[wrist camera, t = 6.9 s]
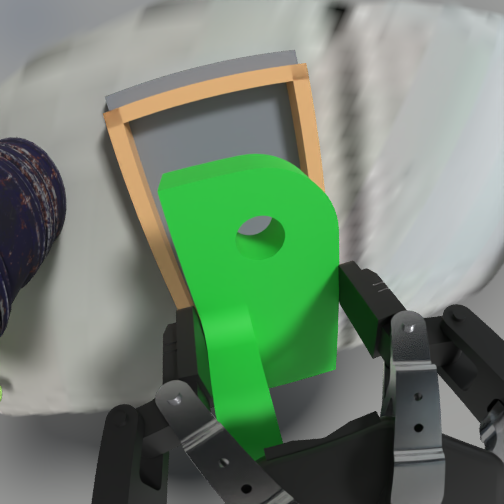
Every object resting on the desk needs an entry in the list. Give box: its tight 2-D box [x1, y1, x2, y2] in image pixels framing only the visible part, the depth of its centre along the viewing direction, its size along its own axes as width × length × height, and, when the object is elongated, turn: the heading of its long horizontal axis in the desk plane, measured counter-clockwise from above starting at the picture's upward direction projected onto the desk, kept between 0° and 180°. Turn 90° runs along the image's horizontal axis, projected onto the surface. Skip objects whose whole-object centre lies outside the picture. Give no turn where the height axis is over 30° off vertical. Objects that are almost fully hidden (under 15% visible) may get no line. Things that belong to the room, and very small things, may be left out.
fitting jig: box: [103, 50, 325, 320], centre depth 21 cm, size 12×20×2 cm, turn 11°
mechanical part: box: [157, 154, 339, 461], centre depth 11 cm, size 12×6×8 cm, turn 10°
